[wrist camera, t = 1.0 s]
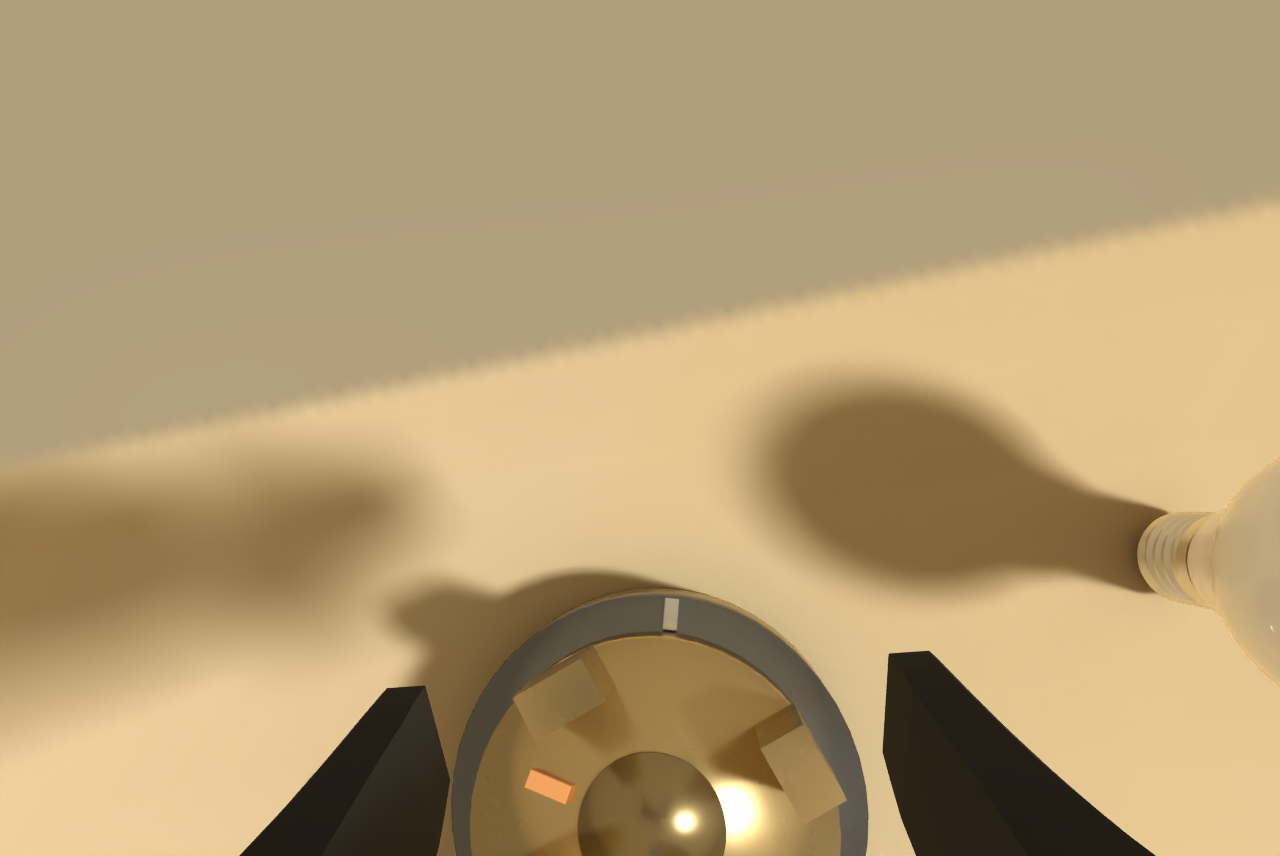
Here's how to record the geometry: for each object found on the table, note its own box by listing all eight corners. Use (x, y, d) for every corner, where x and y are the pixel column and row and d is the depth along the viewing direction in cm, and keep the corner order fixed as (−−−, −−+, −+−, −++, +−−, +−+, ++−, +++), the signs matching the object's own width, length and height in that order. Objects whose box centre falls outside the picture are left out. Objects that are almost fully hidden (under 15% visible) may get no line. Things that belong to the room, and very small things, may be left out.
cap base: (732, 1068, 23) (735, 1126, 21) (403, 845, 24) (374, 877, 22) (925, 716, 23) (947, 737, 21) (591, 518, 25) (581, 520, 23)
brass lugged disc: (721, 1074, 21) (724, 1176, 18) (419, 868, 22) (370, 930, 19) (898, 750, 21) (932, 794, 18) (592, 567, 22) (574, 577, 19)
